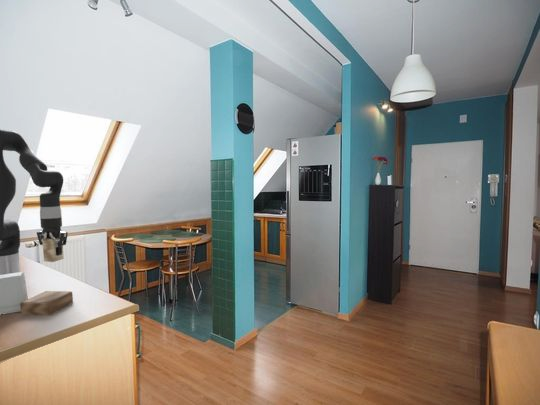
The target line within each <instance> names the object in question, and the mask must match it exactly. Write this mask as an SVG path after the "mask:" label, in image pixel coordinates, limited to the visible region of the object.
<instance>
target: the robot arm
mask: <svg viewBox="0 0 540 405" xmlns="http://www.w3.org/2000/svg"><path fill="white" fill-rule="evenodd" d="M4 151H8V152H16V153H17V154H19V158H18V160H19V164H20V166H21V167H22V168H23V169H24V170H25V171H26V172H27V173H29V176H30V178H31V181H32V183H33V184H34V185H35V186H36V187H39V188H49V189H48V191H46V192H42V193H41V194H40V195H39V208H40V209H39V218H40V219H39V220H40V228H41V229H42V230H41V231H37V232H36V236H37V240H38V243H39V245H40V246H43V241H42V239H44V238H45V239H46V238H52V239H54V242H55V246H56V255H57V256H58V255H61V254H62V246H63V247H64V246H66V244H67V240H68V232H67V231H63V230H62V229H61V228H62V227H63V220H62V219H63V218H62V208H61V192H62V190H63V189H62V188H63V186H64V185H63V184H64V177H63V174H62V173H61V172H60V171H57V170H48V166H47V164H45V162H44V161H43V160H42V159H40V157H38V156H37V154H35V152H34V151H33V150H32V148H30V145H29V144H28V142H27V141H26V140H25V139H24V137H23V136H22V135H21V134H20V133H18V132H17V131H15V130H14V131H13V130H9V129H1V128H0V275H4V274H11V273H17V272H22V271H21V262H20V251H19V249H20V247H21V231H20V227H19V224H18V223H17V221H16V220H13V219H6V220H5V213H6V211H7V208H8V207H9V205H10V204H11V203H12V201H13V199H14V198H15V196H16V191H17V179H16V177H15V175H14V174H13V172H12V171H11V169H10V168H9V167H8V165H7V164H6V161H5V159H4V158H5V157H4ZM55 238H60V239H58V240H56V239H55ZM58 241H59V244H58Z"/></svg>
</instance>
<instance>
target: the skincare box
mask: <svg viewBox="0 0 540 405" xmlns="http://www.w3.org/2000/svg"><path fill="white" fill-rule="evenodd" d="M28 299H29V297H28V291H27V285H26V277H25V272H24V271H21V272H17V273H11V274H4V275H0V316H2V315H1V314H3V315H8V314H13V313H17V312H21V308H20V303H21V302H23V301H26V300H28Z"/></svg>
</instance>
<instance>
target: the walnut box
mask: <svg viewBox="0 0 540 405" xmlns="http://www.w3.org/2000/svg"><path fill="white" fill-rule="evenodd" d="M73 296H74V295H73V291H66V290H65V291H63V290H61V291H60V290H58V291H57V290H45V291H43V292H41V293H38V294H37V295H35V296H33V297H30V298H28V300H26V301H23V302H21V303H20V308H21V311H20V315H22V316H23V315H24V316H51V315H53V314H56V313H57V312H59V311H60V310H62V309H63V308H66V307H67V306H69V305H71V304H73V303H74V299H73V298H74V297H73Z"/></svg>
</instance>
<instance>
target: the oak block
mask: <svg viewBox="0 0 540 405" xmlns="http://www.w3.org/2000/svg"><path fill="white" fill-rule="evenodd" d="M55 239H56V240H58V239H60V238H55ZM42 242H43V245H42V252H43V253H42V254H43V262H46V263H47V262H50V263H55V262H57V261H61V260H64V259H65V258H64V245H63V246H62V254H61V255H58V256H57V255H56V246H55V242H54V239H52V238H46V239H45V238H44V239H42ZM58 244H59V241H58Z"/></svg>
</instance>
